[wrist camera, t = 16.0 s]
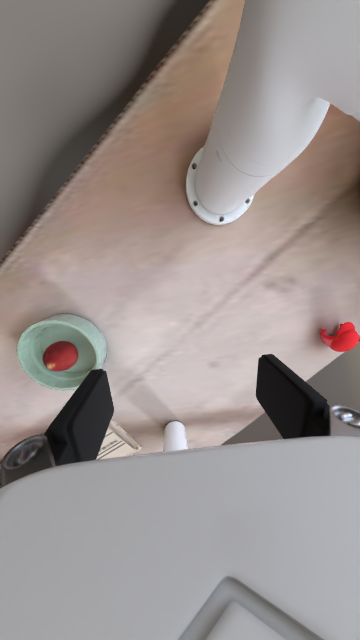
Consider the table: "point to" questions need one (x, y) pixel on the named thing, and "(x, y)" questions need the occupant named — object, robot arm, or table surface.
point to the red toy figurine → (342, 338)
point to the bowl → (53, 331)
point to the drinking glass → (174, 437)
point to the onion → (60, 356)
